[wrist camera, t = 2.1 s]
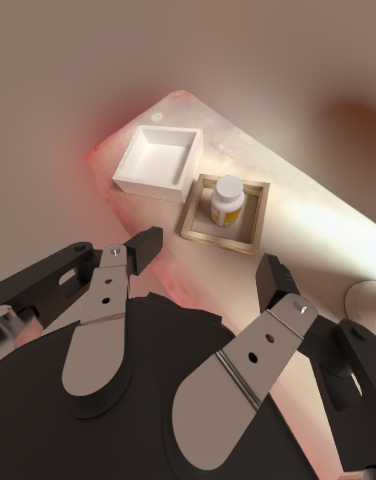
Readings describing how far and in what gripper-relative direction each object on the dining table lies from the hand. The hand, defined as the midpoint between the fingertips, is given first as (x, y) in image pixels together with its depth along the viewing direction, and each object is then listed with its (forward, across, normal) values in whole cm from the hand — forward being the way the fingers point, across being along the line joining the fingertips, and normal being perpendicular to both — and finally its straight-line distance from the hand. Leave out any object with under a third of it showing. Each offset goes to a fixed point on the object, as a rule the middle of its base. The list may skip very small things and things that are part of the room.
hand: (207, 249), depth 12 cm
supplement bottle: (+21, 0, +4) cm, 21 cm away
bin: (+27, +17, -3) cm, 32 cm away
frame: (+21, 0, +4) cm, 21 cm away
